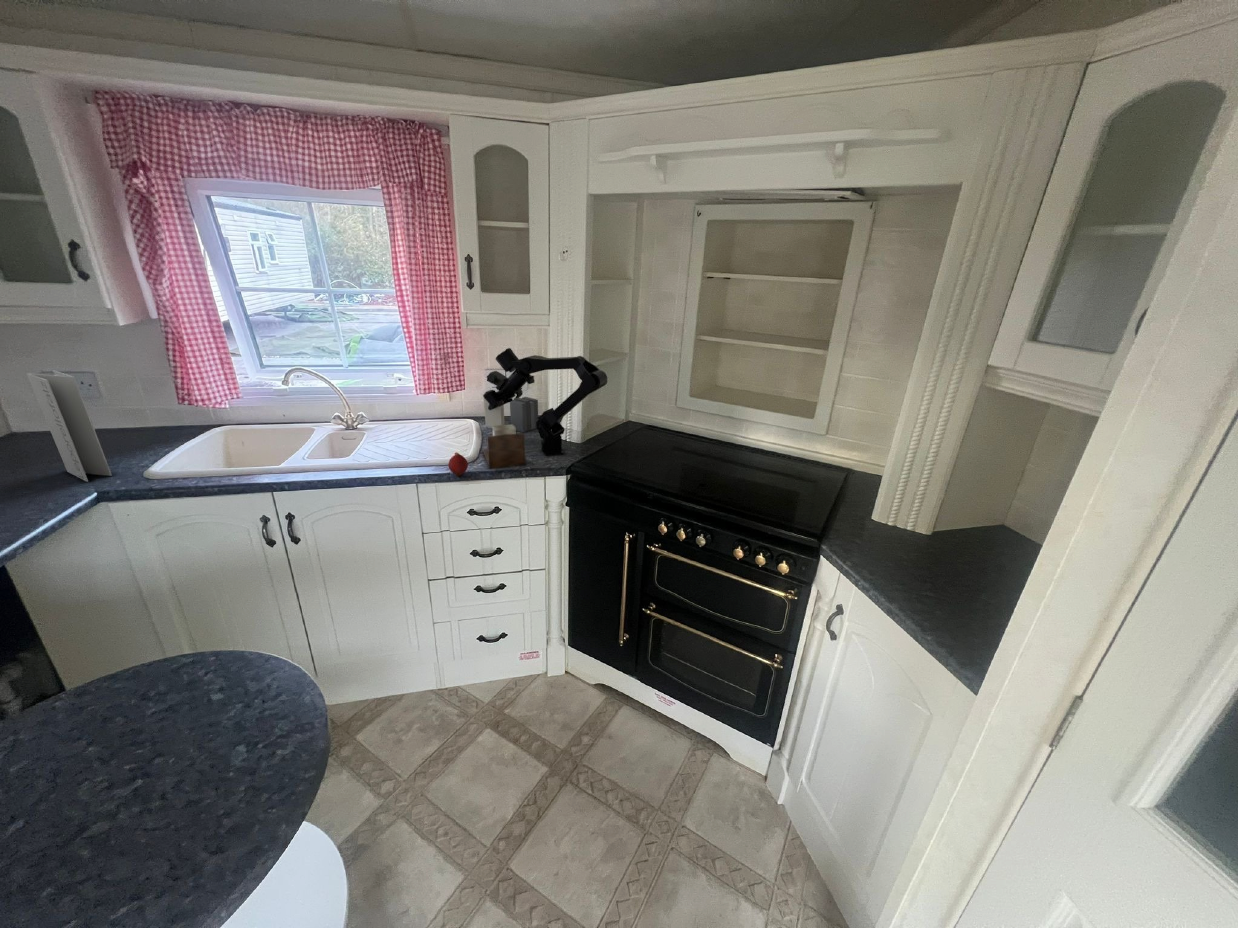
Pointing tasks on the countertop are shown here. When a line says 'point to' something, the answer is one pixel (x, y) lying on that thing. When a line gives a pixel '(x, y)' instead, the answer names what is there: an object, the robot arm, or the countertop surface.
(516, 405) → the grey books
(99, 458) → the brochure
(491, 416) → the white book
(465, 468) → the onion
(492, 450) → the cream-topped brown block
